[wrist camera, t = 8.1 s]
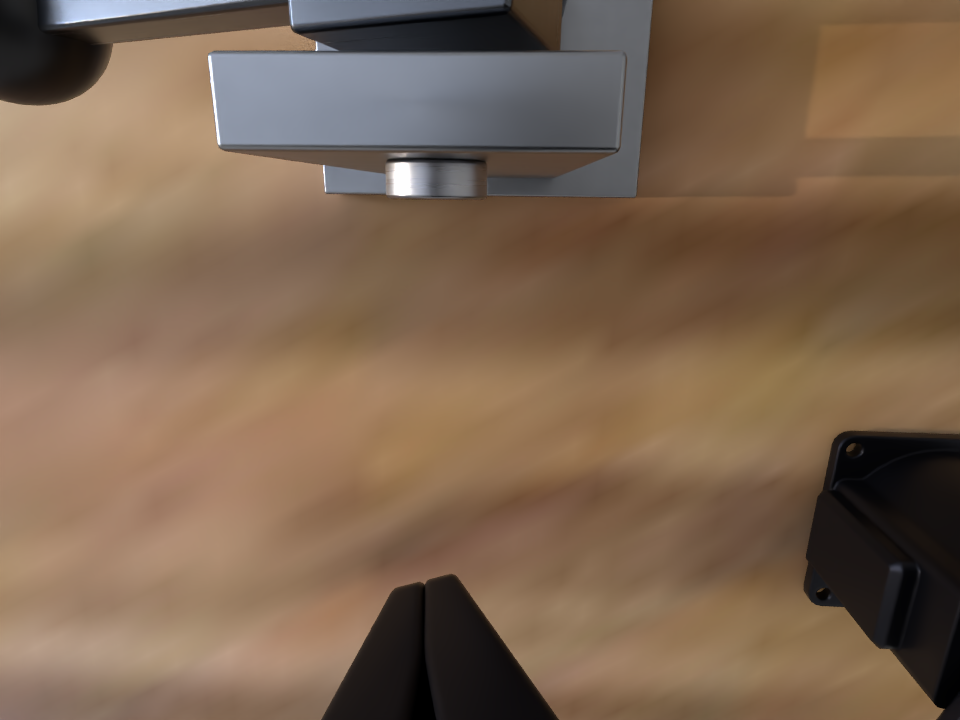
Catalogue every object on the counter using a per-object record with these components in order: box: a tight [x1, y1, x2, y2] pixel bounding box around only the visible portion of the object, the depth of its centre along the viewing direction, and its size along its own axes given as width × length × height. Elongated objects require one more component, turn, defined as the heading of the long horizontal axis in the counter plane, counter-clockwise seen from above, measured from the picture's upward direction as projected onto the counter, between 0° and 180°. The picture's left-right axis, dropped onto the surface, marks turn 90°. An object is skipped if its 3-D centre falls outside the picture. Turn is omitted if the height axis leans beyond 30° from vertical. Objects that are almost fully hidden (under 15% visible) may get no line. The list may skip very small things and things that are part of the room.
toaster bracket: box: [208, 0, 653, 200], centre depth 11 cm, size 9×6×12 cm, turn 89°
